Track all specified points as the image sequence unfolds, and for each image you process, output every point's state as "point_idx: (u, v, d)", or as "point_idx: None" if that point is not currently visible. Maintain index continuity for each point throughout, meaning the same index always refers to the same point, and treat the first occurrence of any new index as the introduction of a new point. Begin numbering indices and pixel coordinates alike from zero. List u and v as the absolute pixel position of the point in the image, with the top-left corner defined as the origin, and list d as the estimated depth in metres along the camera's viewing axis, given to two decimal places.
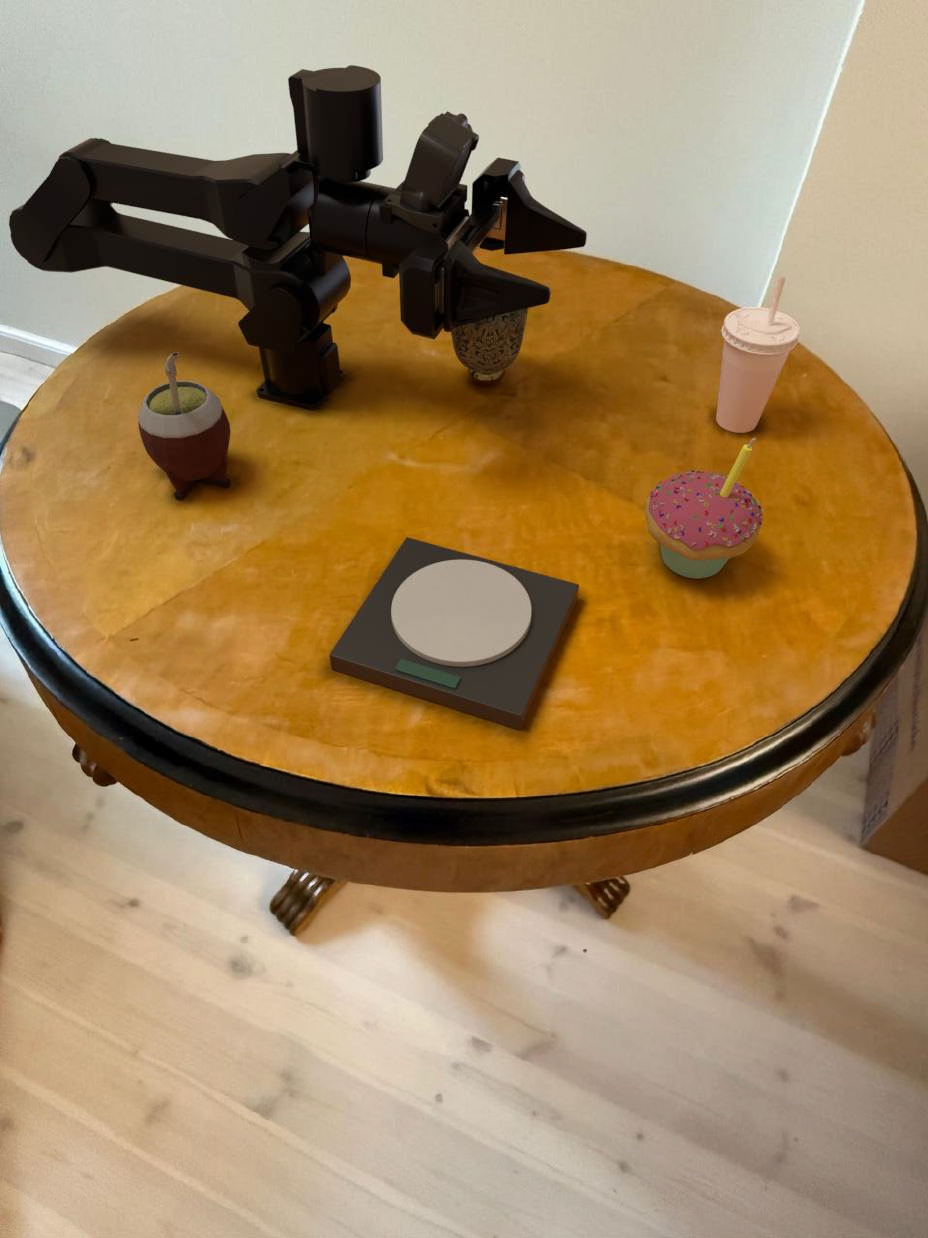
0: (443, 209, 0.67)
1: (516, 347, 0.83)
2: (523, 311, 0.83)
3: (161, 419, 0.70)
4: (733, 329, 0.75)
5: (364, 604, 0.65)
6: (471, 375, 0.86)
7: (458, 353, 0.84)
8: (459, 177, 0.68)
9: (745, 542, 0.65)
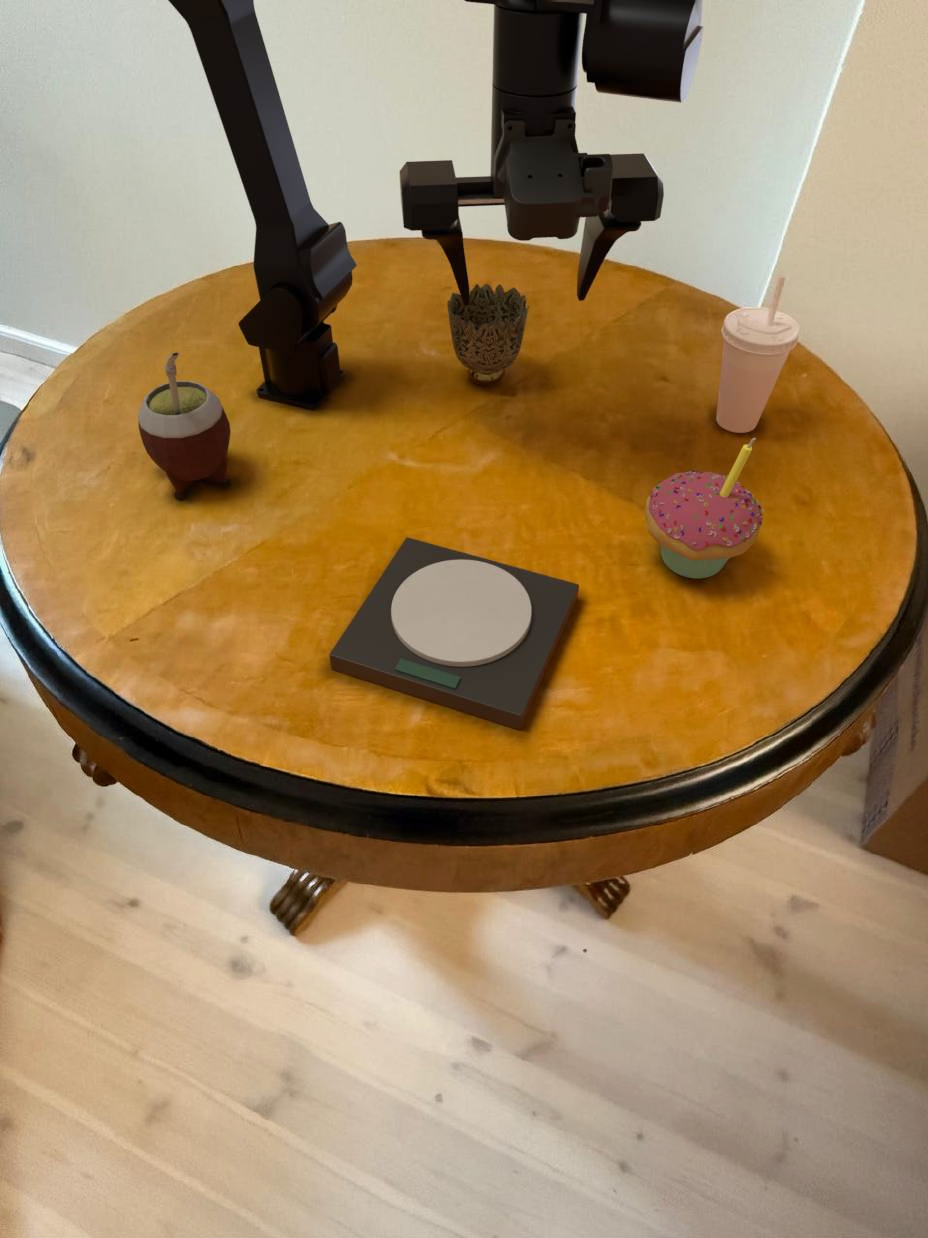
0: None
1: (516, 347, 0.83)
2: (523, 311, 0.83)
3: (161, 419, 0.70)
4: (733, 329, 0.75)
5: (364, 604, 0.65)
6: (471, 375, 0.86)
7: (458, 353, 0.84)
8: None
9: (745, 542, 0.65)
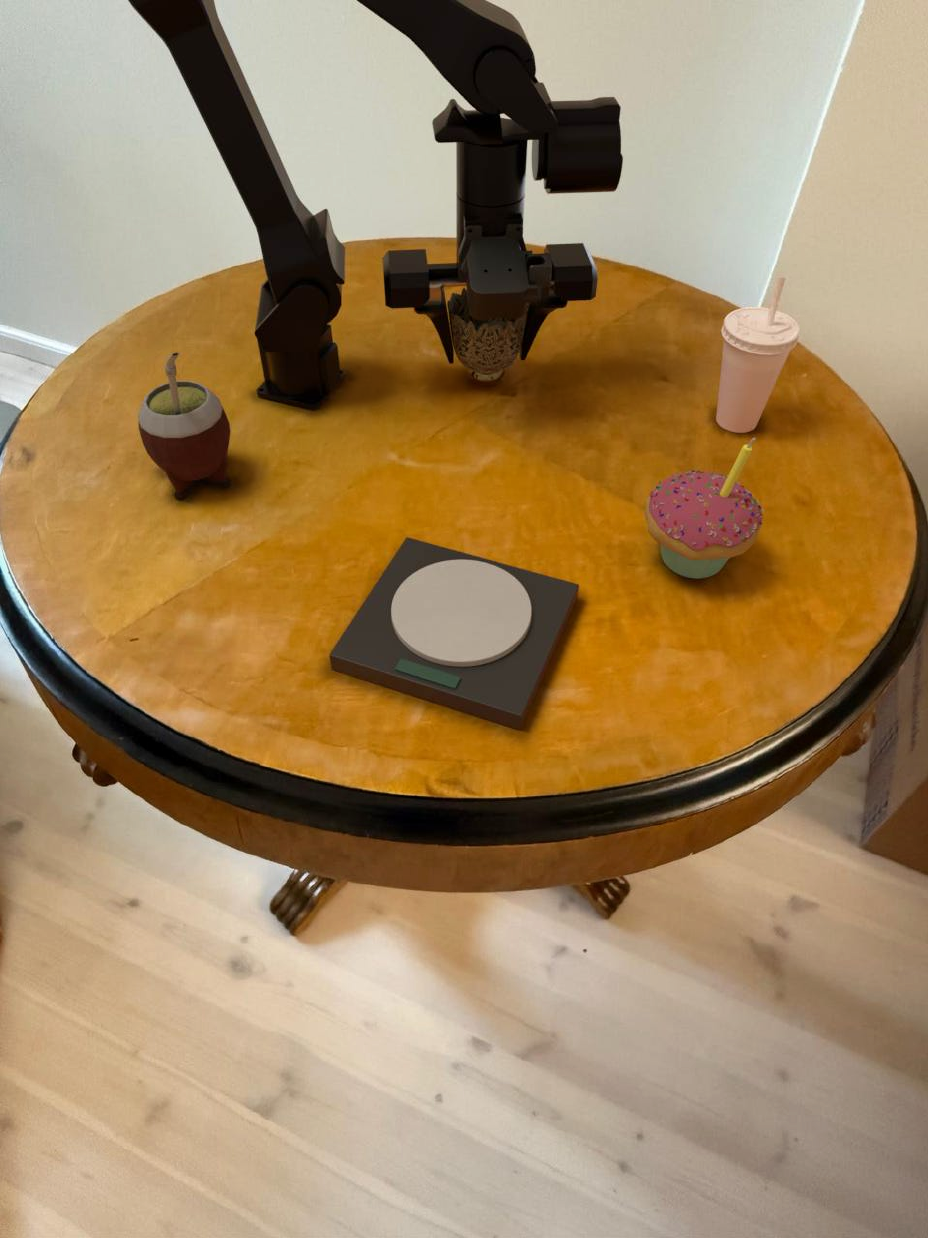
0: None
1: (516, 347, 0.83)
2: None
3: (161, 419, 0.70)
4: (733, 329, 0.75)
5: (364, 604, 0.65)
6: (471, 375, 0.86)
7: (458, 353, 0.84)
8: None
9: (745, 542, 0.65)
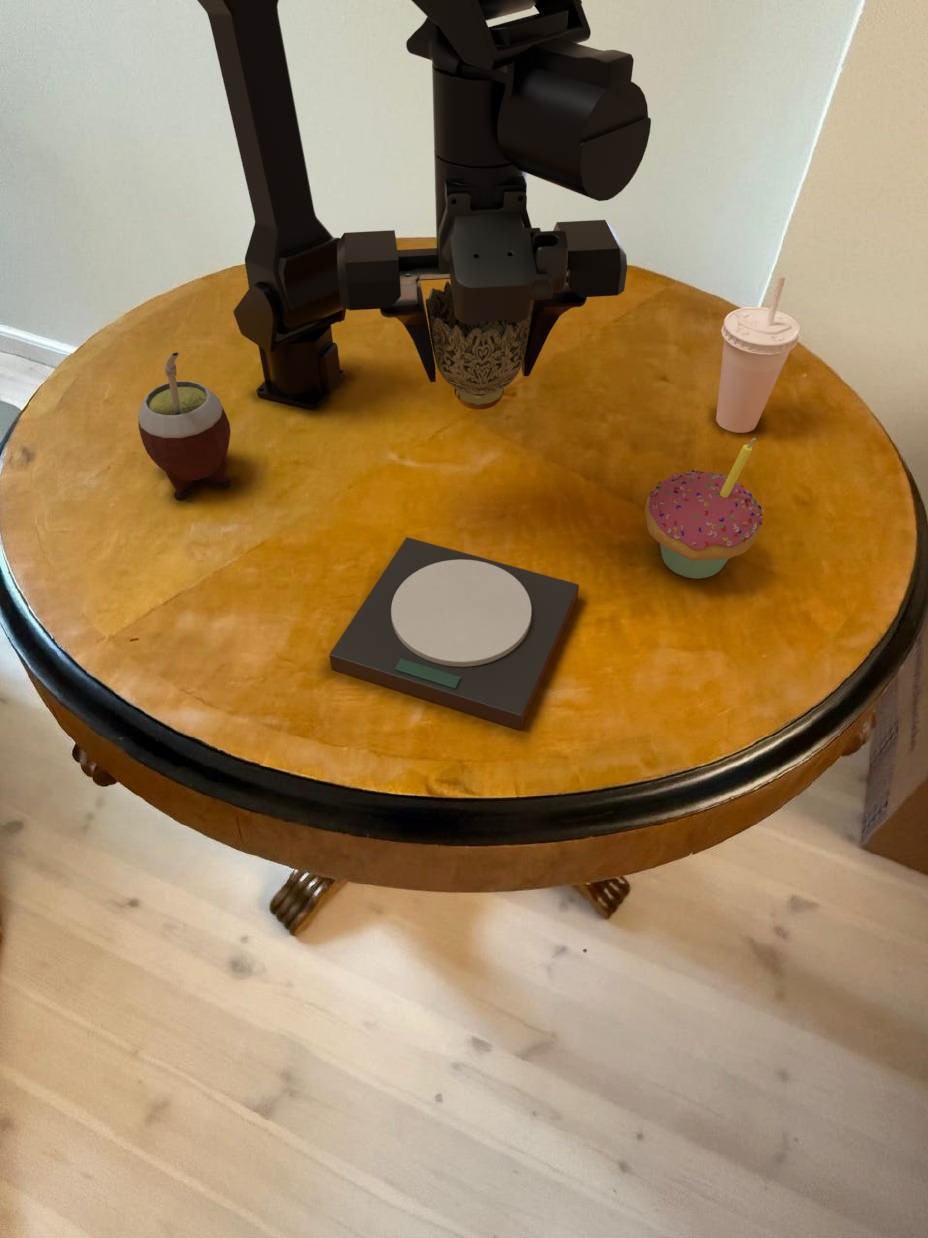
0: None
1: (518, 359, 0.63)
2: None
3: (161, 419, 0.70)
4: (733, 329, 0.75)
5: (364, 604, 0.65)
6: (459, 396, 0.66)
7: (441, 368, 0.63)
8: None
9: (745, 542, 0.65)
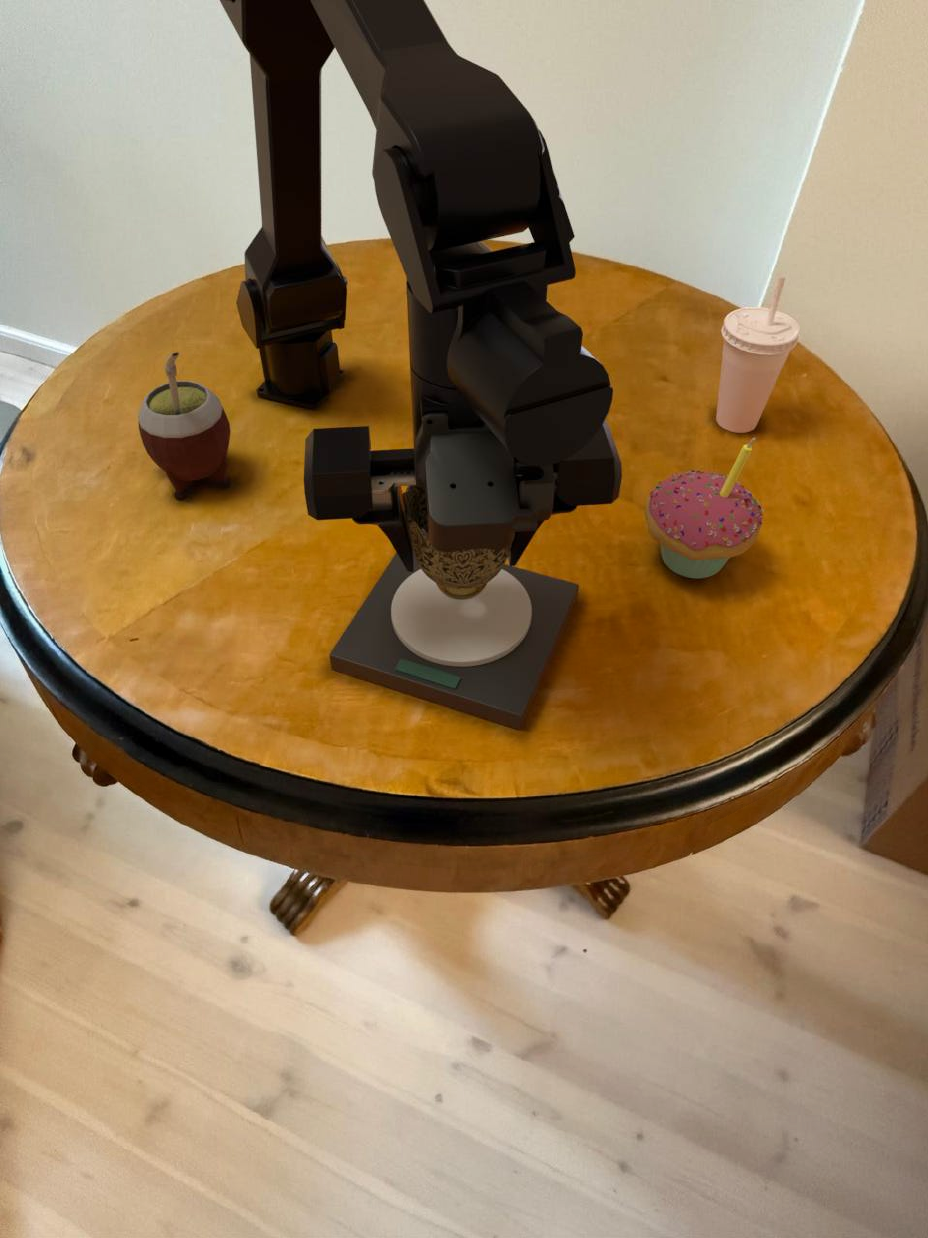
0: None
1: (503, 557, 0.58)
2: None
3: (161, 419, 0.70)
4: (733, 329, 0.75)
5: (364, 604, 0.65)
6: (439, 586, 0.61)
7: (419, 564, 0.58)
8: None
9: (745, 542, 0.65)
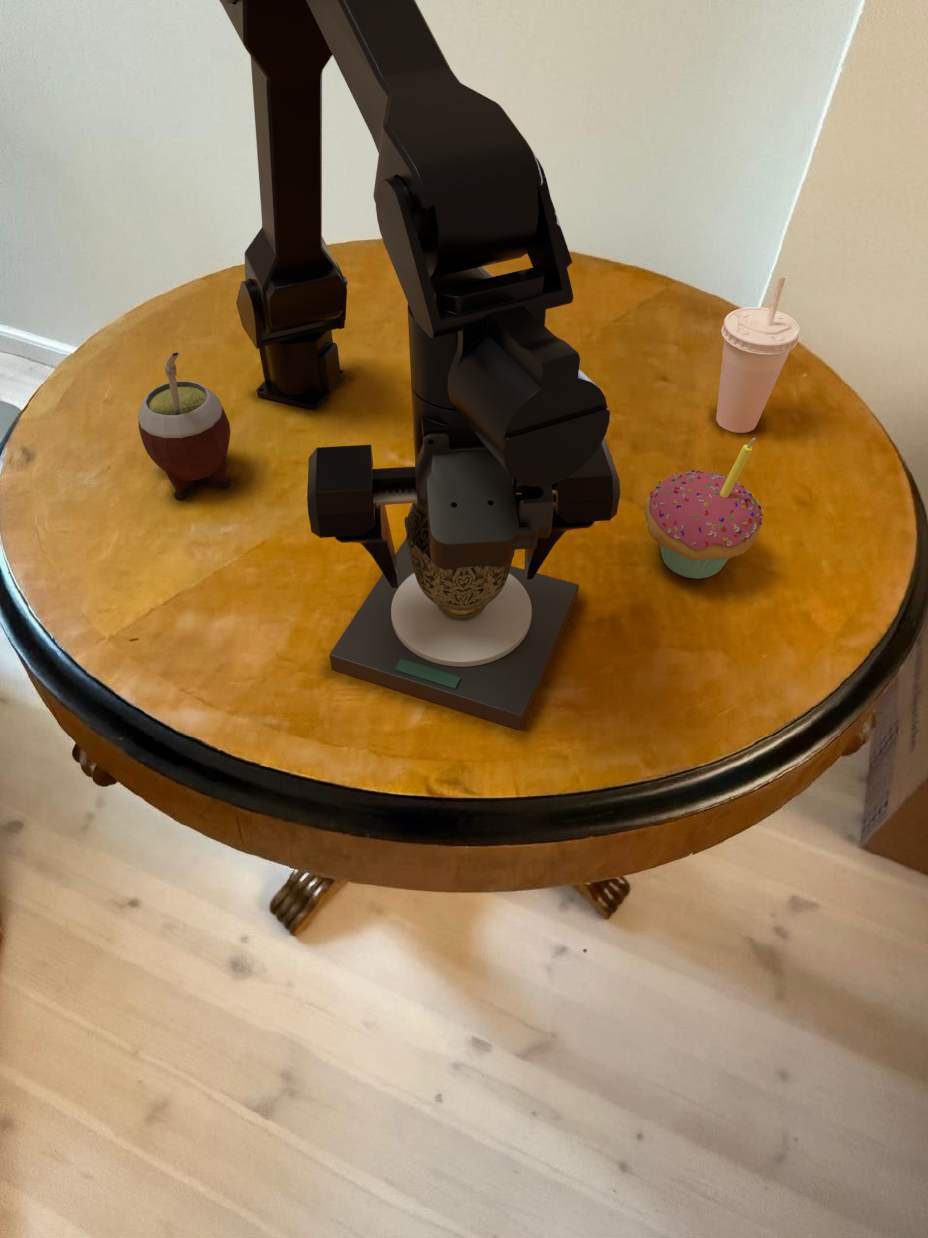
0: None
1: (502, 580, 0.59)
2: None
3: (161, 419, 0.70)
4: (733, 329, 0.75)
5: (364, 604, 0.65)
6: (440, 607, 0.62)
7: (421, 586, 0.60)
8: None
9: (745, 542, 0.65)
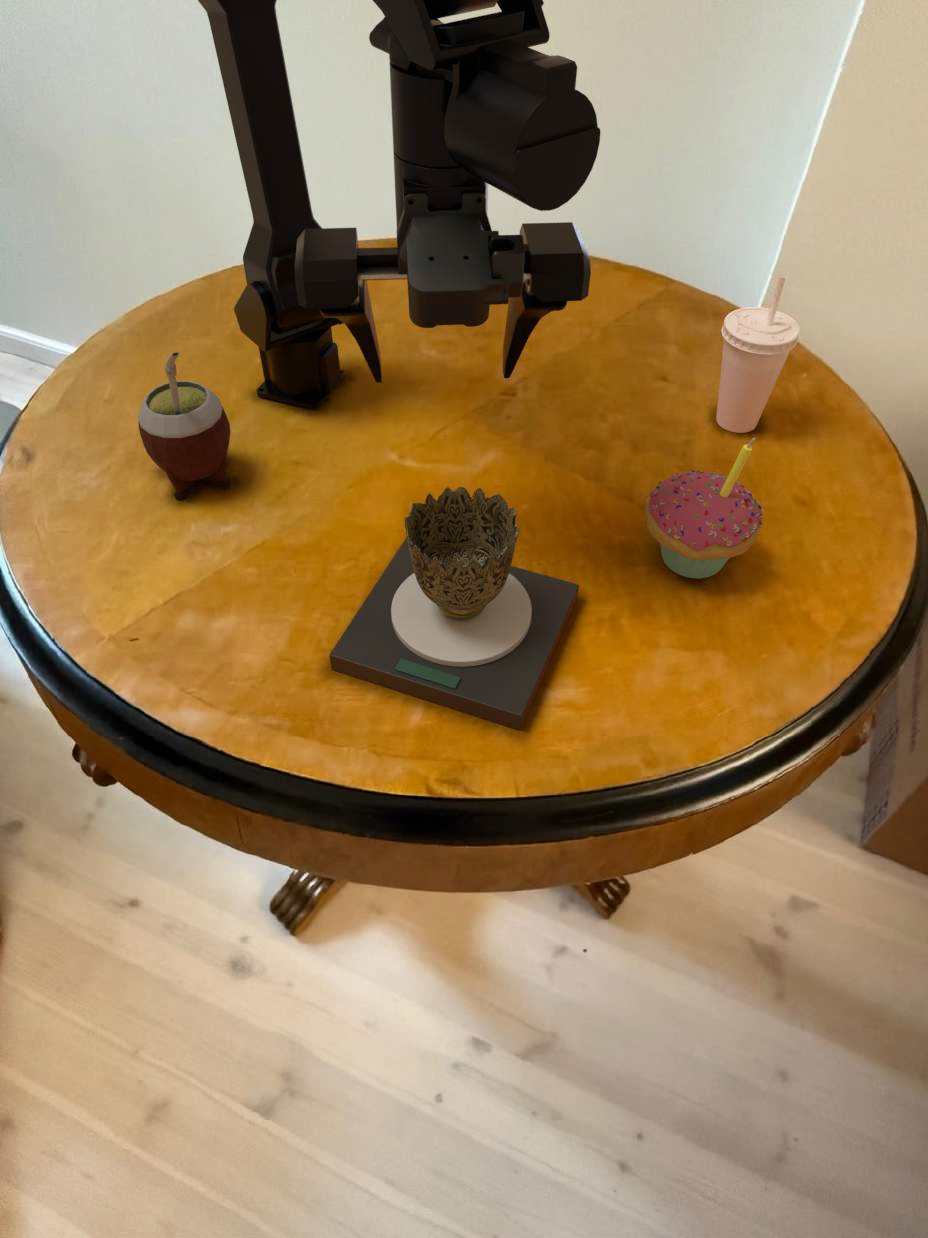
0: None
1: (502, 580, 0.59)
2: (512, 529, 0.59)
3: (161, 419, 0.70)
4: (733, 329, 0.75)
5: (364, 604, 0.65)
6: (440, 607, 0.62)
7: (421, 586, 0.60)
8: None
9: (745, 542, 0.65)
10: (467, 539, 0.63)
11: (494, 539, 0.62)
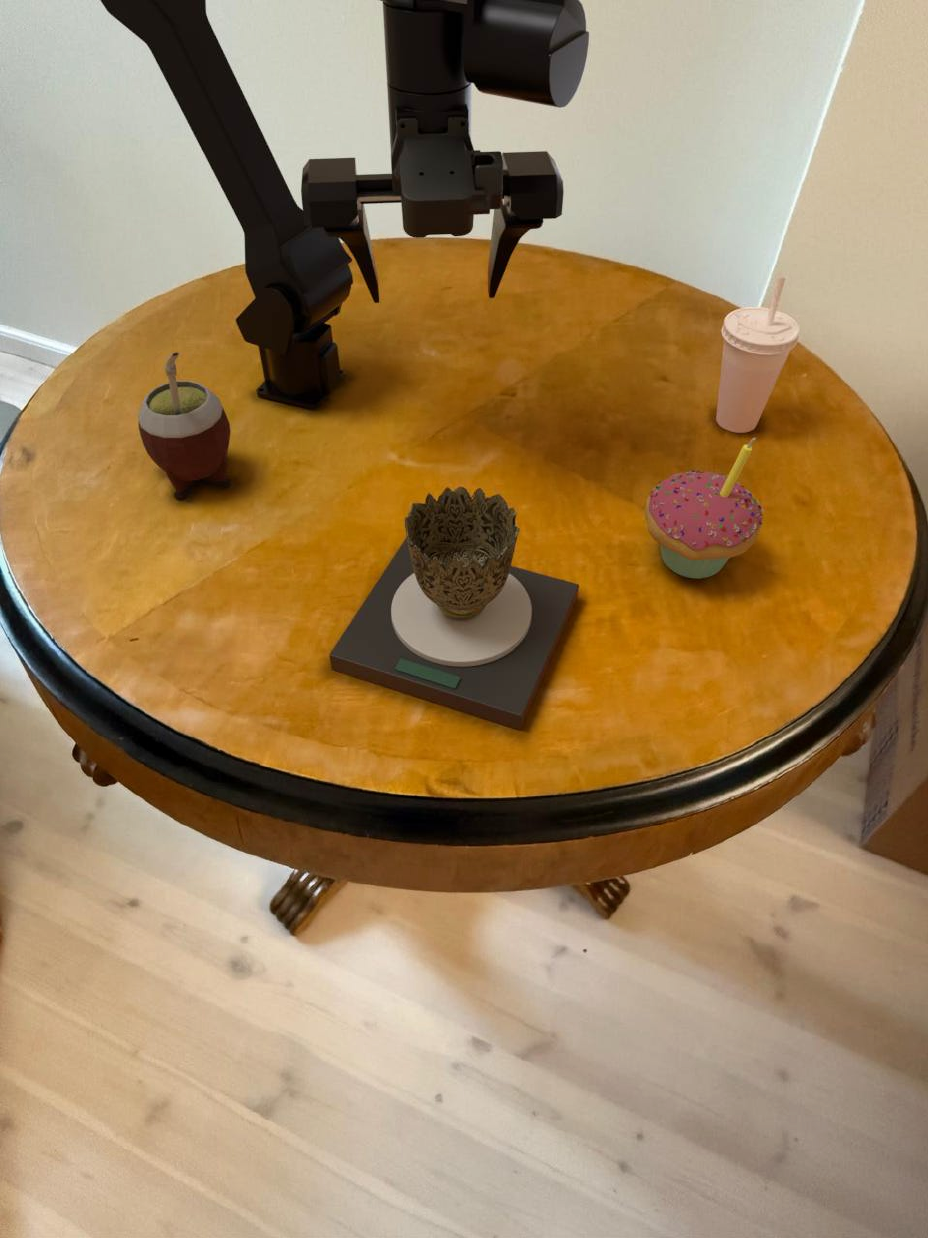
0: None
1: (502, 580, 0.59)
2: (512, 529, 0.59)
3: (161, 419, 0.70)
4: (733, 329, 0.75)
5: (364, 604, 0.65)
6: (440, 607, 0.62)
7: (421, 586, 0.60)
8: None
9: (745, 542, 0.65)
10: (467, 539, 0.63)
11: (494, 539, 0.62)
